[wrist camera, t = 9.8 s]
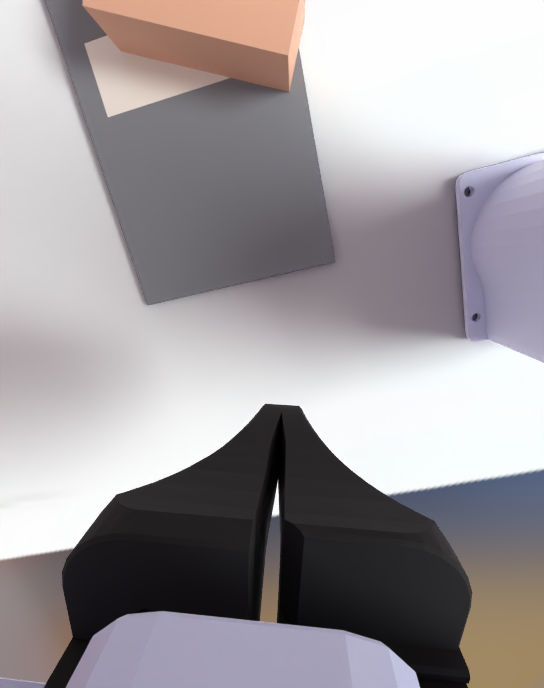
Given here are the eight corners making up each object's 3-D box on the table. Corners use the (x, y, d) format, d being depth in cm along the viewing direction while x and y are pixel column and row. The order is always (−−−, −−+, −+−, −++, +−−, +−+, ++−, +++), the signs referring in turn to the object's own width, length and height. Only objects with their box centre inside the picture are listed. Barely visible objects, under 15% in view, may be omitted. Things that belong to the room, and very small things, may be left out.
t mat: (334, 261, 18) (335, 261, 18) (150, 304, 20) (147, 305, 20) (254, -201, 13) (253, -216, 13) (16, -97, 15) (9, -106, 14)
